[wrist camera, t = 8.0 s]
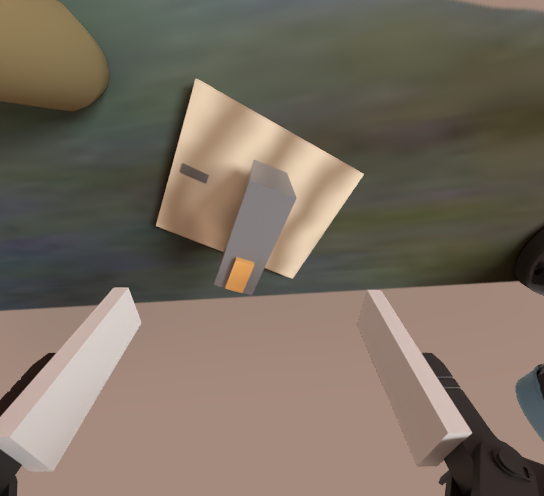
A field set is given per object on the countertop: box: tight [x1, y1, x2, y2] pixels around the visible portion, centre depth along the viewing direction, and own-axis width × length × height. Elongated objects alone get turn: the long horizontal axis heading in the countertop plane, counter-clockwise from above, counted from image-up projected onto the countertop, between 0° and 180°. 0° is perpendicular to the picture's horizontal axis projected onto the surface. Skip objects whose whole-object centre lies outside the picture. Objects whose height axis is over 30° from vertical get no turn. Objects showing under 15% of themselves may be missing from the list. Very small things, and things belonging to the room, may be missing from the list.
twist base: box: [156, 79, 364, 279], centre depth 28 cm, size 20×17×4 cm
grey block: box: [214, 160, 297, 295], centre depth 22 cm, size 10×4×8 cm, turn 158°
